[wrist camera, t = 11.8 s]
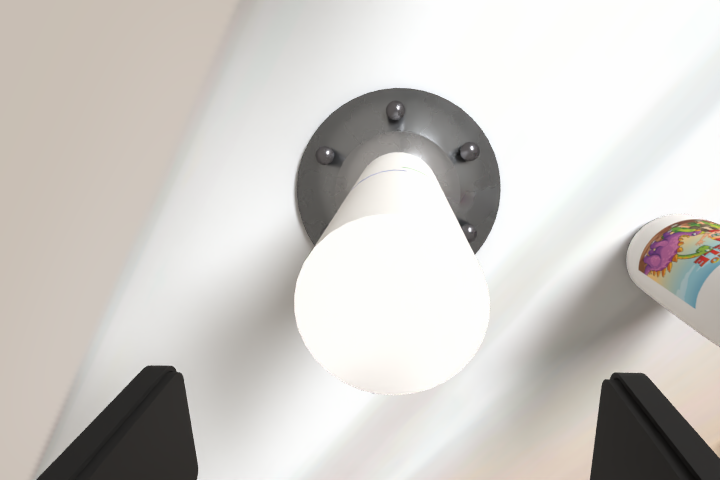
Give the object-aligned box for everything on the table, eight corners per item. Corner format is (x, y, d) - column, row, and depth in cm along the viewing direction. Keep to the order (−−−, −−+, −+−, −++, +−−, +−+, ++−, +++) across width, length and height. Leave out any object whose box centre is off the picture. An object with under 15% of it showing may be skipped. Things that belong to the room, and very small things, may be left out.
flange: (291, 92, 41) (288, 92, 40) (503, 83, 39) (506, 83, 38) (305, 286, 46) (302, 291, 44) (494, 286, 44) (497, 291, 43)
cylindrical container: (353, 155, 41) (283, 219, 17) (437, 149, 40) (489, 207, 16) (360, 235, 42) (304, 396, 18) (439, 230, 42) (490, 393, 18)
